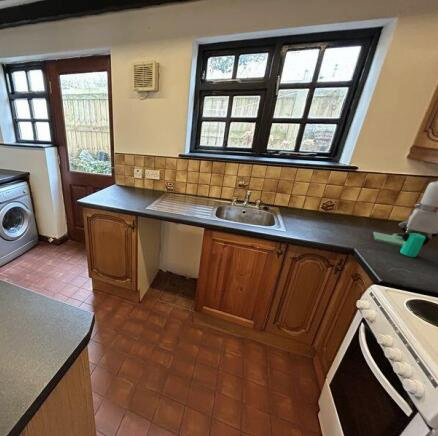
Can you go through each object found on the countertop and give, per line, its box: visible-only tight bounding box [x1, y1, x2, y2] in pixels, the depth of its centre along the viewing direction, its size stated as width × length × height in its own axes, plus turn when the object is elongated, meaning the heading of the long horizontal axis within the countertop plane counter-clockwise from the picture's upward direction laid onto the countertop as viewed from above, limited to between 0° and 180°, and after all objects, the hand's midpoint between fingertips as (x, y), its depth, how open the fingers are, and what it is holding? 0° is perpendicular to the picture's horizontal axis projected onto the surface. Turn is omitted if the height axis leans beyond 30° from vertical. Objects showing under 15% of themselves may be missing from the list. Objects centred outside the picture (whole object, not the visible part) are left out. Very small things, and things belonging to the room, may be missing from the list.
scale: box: [372, 231, 405, 247], centre depth 138 cm, size 14×12×3 cm
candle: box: [399, 232, 426, 258], centre depth 121 cm, size 6×6×12 cm
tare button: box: [396, 232, 404, 237], centre depth 138 cm, size 3×3×2 cm
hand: (413, 242), depth 121 cm, fingers closed on candle, 6 cm apart
